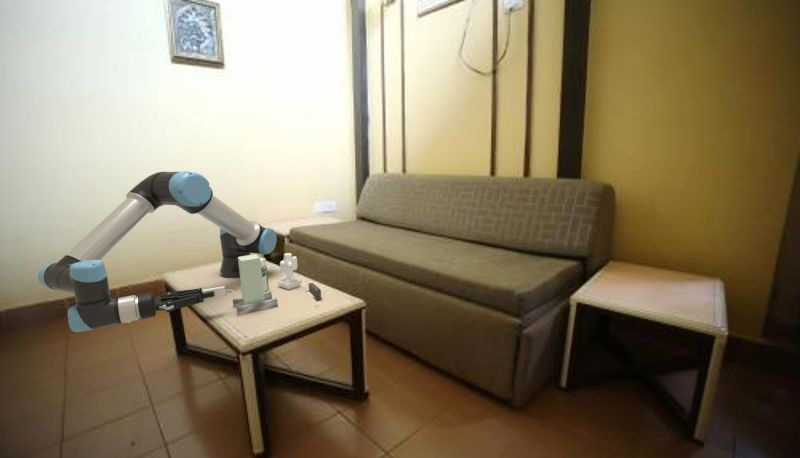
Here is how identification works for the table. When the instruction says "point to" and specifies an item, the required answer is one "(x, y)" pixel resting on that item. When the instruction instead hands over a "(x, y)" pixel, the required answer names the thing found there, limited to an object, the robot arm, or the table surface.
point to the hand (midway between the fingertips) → (224, 290)
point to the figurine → (289, 272)
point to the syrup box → (264, 275)
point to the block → (251, 279)
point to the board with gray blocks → (270, 301)
